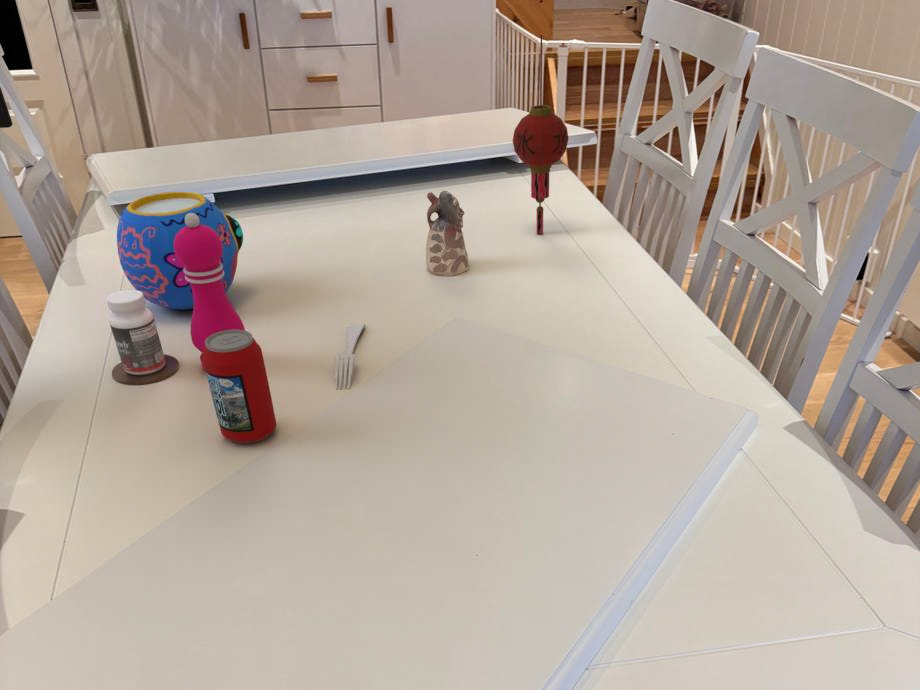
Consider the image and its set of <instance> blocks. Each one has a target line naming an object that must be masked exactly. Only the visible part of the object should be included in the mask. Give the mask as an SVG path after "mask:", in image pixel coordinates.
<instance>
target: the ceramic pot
mask: <svg viewBox="0 0 920 690" xmlns="http://www.w3.org/2000/svg"><path fill="white" fill-rule="evenodd" d="M188 213H194V214H196V215H197V216H198V217H199V221H200V222H199V225H204V226H208V227H210V228H211V229H213V230H214V231H215V232H216V233H217V234H218V236H219V237H220V240H221V242H222V245H223V254H222V256H221V258H220V260H219V262H220V263H222V265H223V268H222V269H223V271H224V276H223V277H222V281H223V287H224V290H225V293H226V294H227V292H228V291H229V289H230V288H231V286H232V284H233V282H234V279H235V277H236V272H237V267H238V256H239V252H240V250H241V248H242V246H243V242H244V234H243V233H244V232H243V229H242V227H241V224H240V223H239V221H238V220H237V219H235V218H234V217H233V216H231V215H228V214H226V213H224V212H223V211H222V210H221V209H220V208H219V207H218V205H216V204H215V203H214V202H212V201H211V200H210V199H208V198H207V197H205V196H204V195H202V194H199V193H196V192H192V191H191V192H190V191H167V192H161V193H155V194H154V193H153V194H149V195H147V196H143V197H139V198H137V199H135V200H133V201H132V202H130V203H129V204H128V205H127V206H126V207H125V208H124V210H123V211H122V213H121V214H120V217H119V219H118V223H117V228H116V246H117V253H118V259H119V263H120V267H121V268H122V271H123V273H124V275H125V277H126V279H127V280H128V282H129V283H130V285H131V286H132V287H133V288H134V290H137V291H140V292H142V293H143V296H144V299H145V301H146V300H147V301H148V302H149V303H151V304H154V305H156V306H158V307H163V308H167V309H170V310H192V309H194V299H193V293H192V288H191V285H190V282H188V281H187V280H186V279H185V273H184V271H183V269H184V267H185V265H183V264H182V263H181V262H180V261H179V260H178V259H177V257H176V255H175V251H174V239H175V236H176V234H177V233H178V232H179V231H180V230H181V229H183V228H184V227H186V226H187V225H186V223H185V216H186V215H187V214H188Z"/></svg>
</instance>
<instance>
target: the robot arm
mask: <svg viewBox="0 0 920 690" xmlns="http://www.w3.org/2000/svg"><path fill="white" fill-rule="evenodd" d="M12 126H13V121H12V117H11V115H10V111H9V108H8V106H7V103H6V100H5V97H4V94H3V90H2V88H1V86H0V129H4V128H6V129H7V128H11V127H12Z"/></svg>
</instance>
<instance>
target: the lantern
mask: <svg viewBox="0 0 920 690" xmlns="http://www.w3.org/2000/svg"><path fill="white" fill-rule="evenodd" d="M539 50H540V59H539V60H540V61H539V62H540V63H539V64H540V65H539V66H540V67H539V69H540V71H539V73H540V74H539V75H540V76H539V82H540V83H539V104H538V105H536V104H535V105H532V106H530V110H529V113H528V114H526V115H525V116H523V117H522V118H521V119H520V120H519V122H518V124H517V125H516V126H515V129H514V131H513V137H512V145H513V149H514V153H515V154H516V155H517V157H518V158H519V160H520V161H521V162H522V163H523V164H525V165H527V166H528V168H529V169H530V181H531V182H530V187H531V188H530V197H531V198H532V199H534V200H535V201H536V203H537V204H538V206H537V207H536V235H539V236H540V235H541V236H542V235H543V234H544V211H545V210H544V207H543V206H542V203H543V202H545V199H549V197H550V172H551V169H552V165H554V164H556V163H558V162H559V161H560V160H561V159H562V157H563V156H564V154H565V153H566V151H567V147H568V144H569V133H568V128H567V126H566V124H565V122H564V121H563V119H562V118H561V117H559V116H558V115H556V114H555V113H553V110H552V106H551V105H547V104H543V34H540V49H539Z"/></svg>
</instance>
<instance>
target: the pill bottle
mask: <svg viewBox="0 0 920 690" xmlns="http://www.w3.org/2000/svg"><path fill="white" fill-rule="evenodd" d="M106 302H107V307H108V310H110V311H111V313H110V315H109V318H108V322H109V327H110V329H111V332H112V336H113V339H114V342H115V345H116V349H117V352H118V355H119V359H120V363H121V362H122V365H123V368H124V370H125V371H126V372H127V373H129V374H132V375H147V374H151V373H154V372H157V371H159V370H161V369H162V368H163V367H164V365H165V357H164V354H165V353H164V349H163V346H162V343H161V339H160V336H159V332H158V329H157V325H156V321H155V318H154V314H153V312H152V311H151V309H149V308H148V307H146V306H145V305H146V299H145V298H144V296H143V293H142V292H140V291H137V290H136V289H124V290H119V291H115V292H112V293H111V294H109V295H107V297H106Z"/></svg>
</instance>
